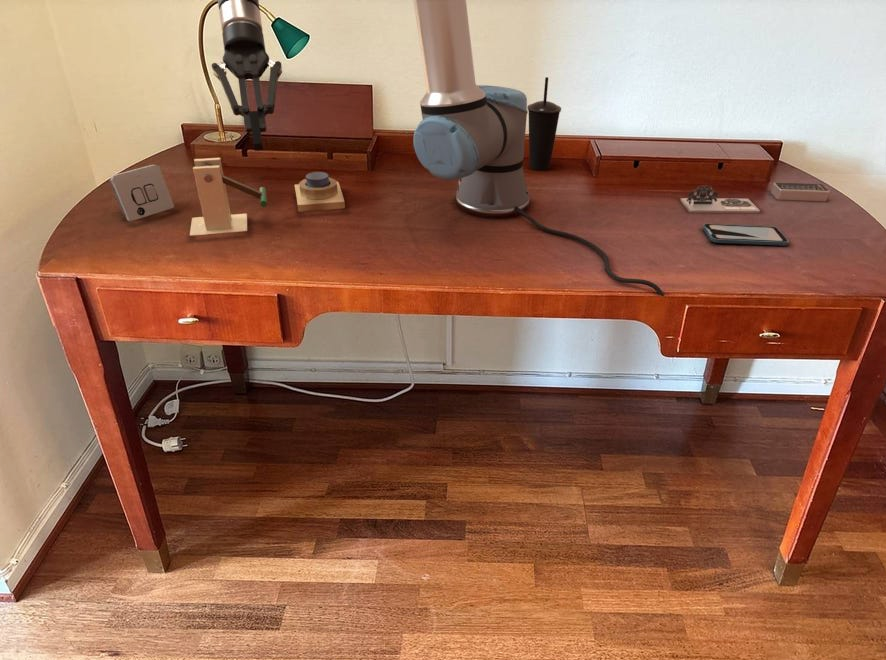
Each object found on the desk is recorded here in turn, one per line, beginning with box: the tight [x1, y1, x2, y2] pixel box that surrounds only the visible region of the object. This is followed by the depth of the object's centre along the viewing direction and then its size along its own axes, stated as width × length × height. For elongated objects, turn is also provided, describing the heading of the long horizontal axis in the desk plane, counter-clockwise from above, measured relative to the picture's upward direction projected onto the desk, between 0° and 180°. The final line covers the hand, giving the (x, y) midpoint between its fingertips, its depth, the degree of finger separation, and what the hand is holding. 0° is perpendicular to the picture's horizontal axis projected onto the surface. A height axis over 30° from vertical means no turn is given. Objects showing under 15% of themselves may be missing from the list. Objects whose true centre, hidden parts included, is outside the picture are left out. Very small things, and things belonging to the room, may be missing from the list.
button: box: [305, 171, 330, 188], centre depth 137 cm, size 4×4×2 cm
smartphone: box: [702, 223, 790, 247], centre depth 132 cm, size 7×1×15 cm
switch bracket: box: [189, 157, 248, 237], centre depth 125 cm, size 10×8×13 cm
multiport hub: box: [770, 182, 831, 202], centre depth 150 cm, size 4×11×2 cm, turn 89°
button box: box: [294, 177, 346, 213], centre depth 138 cm, size 9×11×4 cm
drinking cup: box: [527, 76, 562, 171], centre depth 156 cm, size 8×8×20 cm
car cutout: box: [679, 185, 761, 214], centre depth 144 cm, size 15×7×4 cm, turn 94°
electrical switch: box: [108, 164, 175, 222], centre depth 130 cm, size 9×5×9 cm, turn 141°
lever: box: [202, 162, 268, 208], centre depth 124 cm, size 12×7×2 cm, turn 108°
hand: (258, 146), depth 128 cm, fingers closed
